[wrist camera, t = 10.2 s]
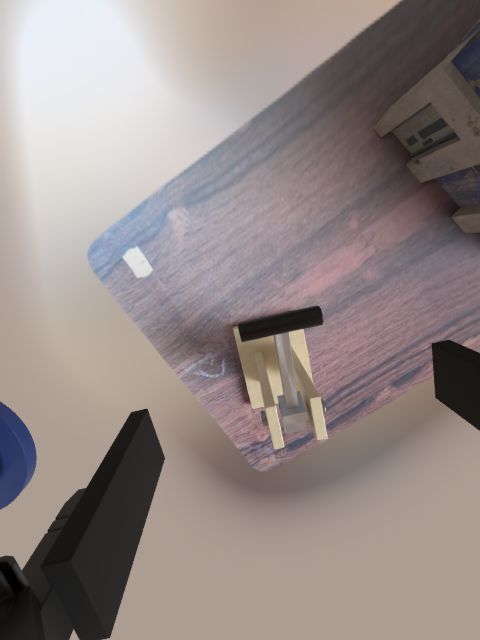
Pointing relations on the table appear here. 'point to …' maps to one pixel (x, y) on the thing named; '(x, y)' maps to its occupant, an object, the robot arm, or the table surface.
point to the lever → (285, 357)
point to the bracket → (279, 382)
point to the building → (445, 128)
